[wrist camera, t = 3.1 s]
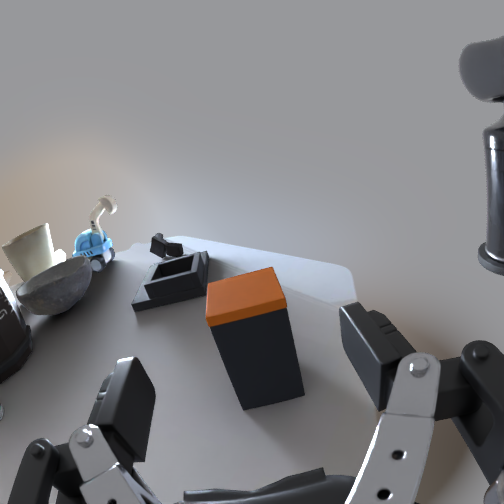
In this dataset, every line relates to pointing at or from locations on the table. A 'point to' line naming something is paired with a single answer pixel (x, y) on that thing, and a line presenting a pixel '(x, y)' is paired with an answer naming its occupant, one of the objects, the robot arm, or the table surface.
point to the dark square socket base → (173, 281)
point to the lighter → (165, 247)
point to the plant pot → (31, 252)
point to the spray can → (1, 411)
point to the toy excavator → (97, 237)
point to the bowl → (56, 287)
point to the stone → (59, 256)
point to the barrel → (12, 334)
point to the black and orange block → (254, 337)
